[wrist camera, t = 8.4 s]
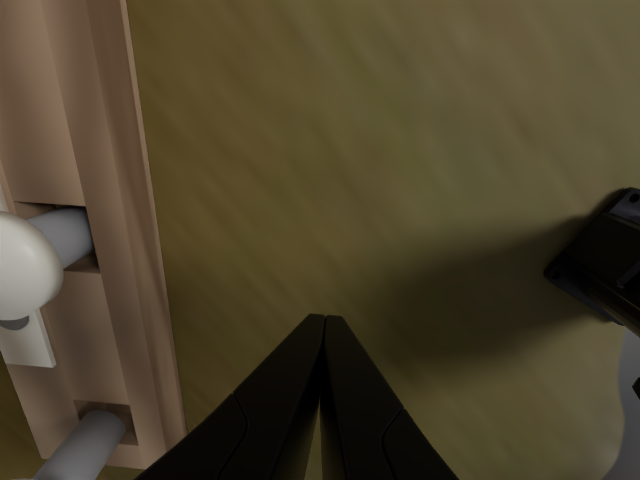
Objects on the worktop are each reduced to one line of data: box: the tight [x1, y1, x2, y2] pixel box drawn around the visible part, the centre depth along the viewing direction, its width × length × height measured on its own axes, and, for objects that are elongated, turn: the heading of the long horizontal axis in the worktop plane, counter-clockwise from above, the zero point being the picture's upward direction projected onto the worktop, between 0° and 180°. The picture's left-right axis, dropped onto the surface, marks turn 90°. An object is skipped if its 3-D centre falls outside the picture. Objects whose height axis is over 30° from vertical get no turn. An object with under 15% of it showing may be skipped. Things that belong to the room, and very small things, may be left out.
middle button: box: [0, 205, 95, 320], centre depth 18 cm, size 5×5×6 cm
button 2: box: [13, 410, 126, 480], centre depth 20 cm, size 5×5×6 cm
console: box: [0, 0, 187, 469], centre depth 20 cm, size 10×37×4 cm, turn 177°
